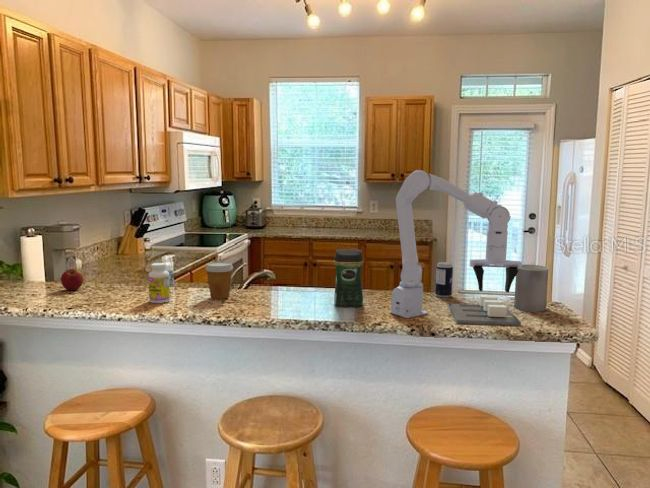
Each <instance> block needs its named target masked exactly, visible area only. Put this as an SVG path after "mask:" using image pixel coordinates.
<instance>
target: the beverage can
mask: <svg viewBox="0 0 650 488" xmlns="http://www.w3.org/2000/svg"><path fill="white" fill-rule="evenodd" d="M453 273H454V267H453V263H452V262H449V261H448V262H446V261H440V262H439V261H438V262H437V265H436V271H435V295H436V296H437V297H438V298H450V296H452V295H453V294H452V293H453V275H454V274H453Z"/></svg>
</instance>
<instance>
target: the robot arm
mask: <svg viewBox="0 0 650 488" xmlns="http://www.w3.org/2000/svg"><path fill="white" fill-rule="evenodd" d="M428 187H429V191H441V192H442V193H444V194H446V195H448V196H451V197H452V198H454V199H456V200H458V201H460V202H462V204H463V207H464V209H465V210H467V211H469V212H471V213H473V214H475V215H476V216H478V217H480V218H482V219H487V221H488V222H487V223H488V225H487V232H486V247H485V258H481V259H473V258H472V259H469V267H471V268H472V270H473V271H474V273H475V274H474V275H475V277H476V280H477V285H478V291H479V292H483V290H484V289H483V287H484V285H483V284H484V282H483V281H484V273H485V270H484V268H505V283H504V284H505V285H504V291H505V292H506V293H510V289H511V286H512V283H513V282H514V280H515V279H516V275H517V273H518V269H517V268H521V266H522V265H523V264H522V263H523V262H522V261H520V260H508V259H507V251H508V250H507V249H508V248H507V247H508V227H509V224H508V223H510V220H511V214H510V211H509V209H507V208H506V207H505V206H502V204H498V203H499V202H498V201H497V200H492V199H490V198H488V197H486V196H484V193H483V192H481V191H479V192H477V191H471V192H467V191H465V190H464V189H461V188H460V187H459V186H456V185H455V184H453V183H451V182H450V181H448V180H446V179H444V178H442V177H440V176H438V175H435V174H433V173H427V172H426V171H424V170H421V169H420V170H419V169H417V170H414V171H413V172H411V173H410V174H409V175H408V176H407V177H406V178H405V179H404V181H403V183H402V185H401V187H400V189H399V191H398V192H397V195H396V196H395V205H396V214H397V215H396V216H397V223H398V232H399V240H400V248H401V261H402V262H401V264H402V269H401V272H400V280H401V281H399V285H398V286H397V287H395V288H393V289H392V291H391V297H390V298H391V302H390V303H391V304H390V310H389V313H391V314H393V315H396V316H399V317H402V318H404V319H409V318H410V319H411V318H414V317H418V316H424V315H428V314H429V312H428V311H426V310H423V303H424V302H423V299H424V296H423V295H424V283H423V282H422V277H423V276H422V275H423V268H422V266H421V264H420V263H419V257H418V252H417V241H416V234H415V223H414V215H413V208H412V207H413V206H412V202H414V200H416V198H417V196H418V195H419V194H421V193H423V192H424V191H426V190H427V189H428Z"/></svg>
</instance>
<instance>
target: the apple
mask: <svg viewBox="0 0 650 488" xmlns="http://www.w3.org/2000/svg"><path fill="white" fill-rule="evenodd" d="M84 279H85V278H84V275H83V273H82V272H81V271H80V270H78V269H76V268H70V269H67V270H64V272H63V273H62V275H61V276H60V283H61V285H62V287H63V288H64V289H65V290H66V291H72V290H74V291H77V290H78V289H80V288H81V287H82V286H83V283H84V281H85V280H84Z"/></svg>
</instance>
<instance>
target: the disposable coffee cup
mask: <svg viewBox="0 0 650 488" xmlns="http://www.w3.org/2000/svg"><path fill="white" fill-rule="evenodd" d="M233 269H234V266H233V264H232V262H230V261H229V262H228V261H216V262H215V261H213V262H208V263H206V265H205V271H206V275H207V282H208V288H209V294H210V299H211V298H212V299H211V300H214V299H223V300H225V299H224V298H227V299H229V298H230V294H231V293H230V292H231V284H232V283H231V282H232V273H233ZM228 297H229V298H228Z"/></svg>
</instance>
